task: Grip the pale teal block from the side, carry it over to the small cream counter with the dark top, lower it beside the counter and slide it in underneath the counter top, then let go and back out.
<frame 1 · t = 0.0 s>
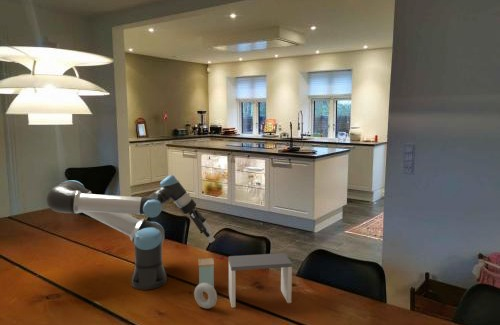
hand: (211, 236, 178), 15 cm above the table, tool tilted 35°, fingers open, 13 cm apart
counter: (259, 298, 148), on the table
pale teal block: (206, 288, 156), on the table
donut: (205, 308, 140), on the table
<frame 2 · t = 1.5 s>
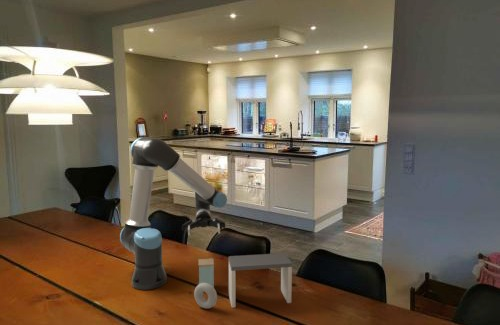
hand: (204, 231, 162), 22 cm above the table, tool horizontal, fingers open, 13 cm apart
nothing on the table moved.
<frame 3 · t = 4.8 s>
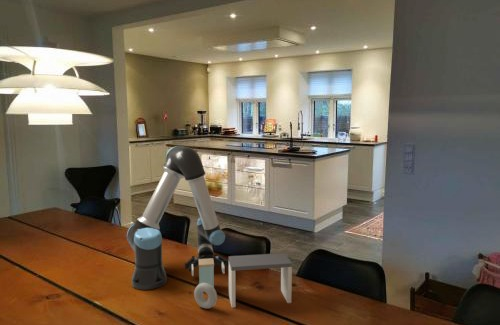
hand: (208, 271, 158), 6 cm above the table, tool horizontal, fingers open, 13 cm apart
nothing on the table moved.
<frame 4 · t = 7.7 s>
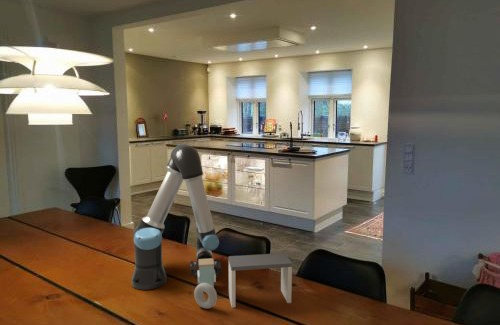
hand: (206, 279, 150), 7 cm above the table, tool horizontal, fingers closed on pale teal block, 6 cm apart
pale teal block: (206, 288, 156), on the table, touching gripper
everything else where it was.
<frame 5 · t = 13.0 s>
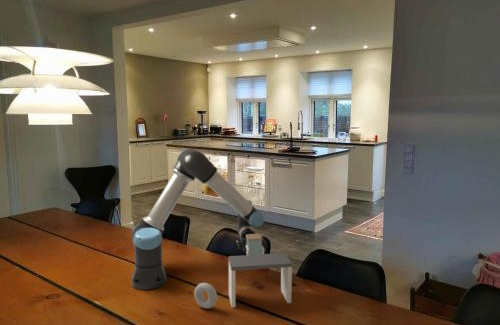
hand: (256, 252, 159), 15 cm above the table, tool horizontal, fingers closed on pale teal block, 6 cm apart
pale teal block: (254, 261, 165), point 8 cm above the table, touching gripper
everything else where it was.
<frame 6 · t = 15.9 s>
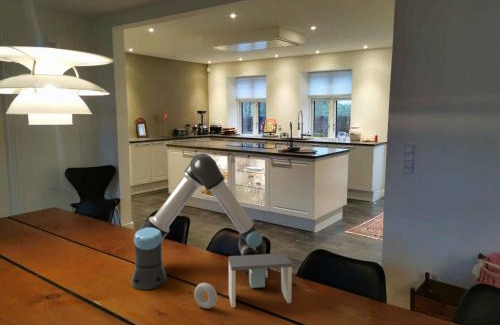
hand: (259, 275, 152), 7 cm above the table, tool horizontal, fingers closed on pale teal block, 6 cm apart
pale teal block: (256, 284, 158), point 1 cm above the table, touching gripper
everything else where it was.
when the fingers open (7 cm above the table, at t = 18.4 s): pale teal block drops 1 cm, on the table.
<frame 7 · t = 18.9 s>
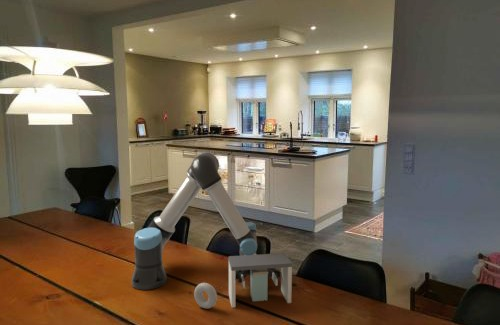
hand: (260, 283, 144), 7 cm above the table, tool horizontal, fingers open, 13 cm apart
pale teal block: (258, 297, 149), on the table
everything else where it was.
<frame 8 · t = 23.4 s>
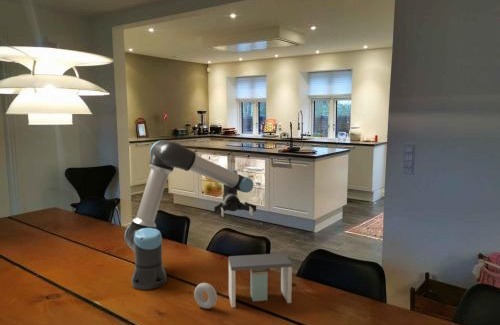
hand: (237, 213, 165), 30 cm above the table, tool horizontal, fingers open, 13 cm apart
nothing on the table moved.
at the end: pale teal block inside the target area on the counter (1.0 cm from its centre), point 0.0 cm above the counter's base; pale teal block tilted 0°; the gripper is holding nothing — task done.
